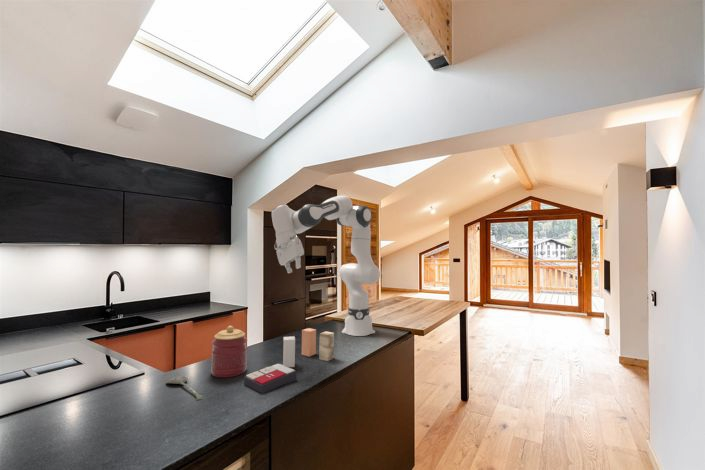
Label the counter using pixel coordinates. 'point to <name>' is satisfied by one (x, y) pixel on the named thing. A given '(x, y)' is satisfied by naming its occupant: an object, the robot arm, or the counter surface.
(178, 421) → the counter surface
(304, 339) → the terracotta block
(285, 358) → the grey block
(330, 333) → the ash block
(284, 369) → the flat patterned box
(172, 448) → the counter surface
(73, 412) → the counter surface
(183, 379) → the grey axe
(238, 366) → the canister
